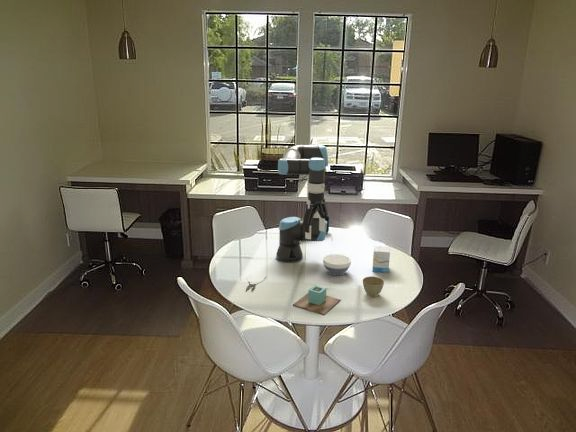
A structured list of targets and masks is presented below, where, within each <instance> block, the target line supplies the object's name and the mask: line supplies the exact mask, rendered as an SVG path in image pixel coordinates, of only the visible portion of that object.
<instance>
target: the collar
mask: <svg viewBox="0 0 576 432" xmlns="http://www.w3.org/2000/svg"><path fill="white" fill-rule="evenodd" d="M315 289H320V291H319V292H318V291H315ZM307 293H308V302H310V303H313V304H316V305H321V304H322V303H323V302H325V301H326V296H327V288H326V287H324V286H319V285H313V286H312V287H311V288H309V289H308V292H307Z"/></svg>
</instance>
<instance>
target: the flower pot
mask: <svg viewBox="0 0 576 432" xmlns="http://www.w3.org/2000/svg"><path fill="white" fill-rule="evenodd" d="M384 285H385V280H384V279H383V278H381V277H379V276H372V275H371V276H366V277H363V279H362V287H363V288H364V292H365V293H366V294H367V296H368V297H371V298H375V297H378V295H380V293H381V292H382V290H383V287H384Z"/></svg>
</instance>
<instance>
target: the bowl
mask: <svg viewBox="0 0 576 432" xmlns="http://www.w3.org/2000/svg"><path fill="white" fill-rule="evenodd" d="M322 263H323V266H324V268H325V270H326V271H327V273H328V274H330V275H333V276H343V275H344V274H346V272H347V271H348V270H349V269H350V267H351V264H352V261H351V258H350V257H349V256H347V255H344V254H339V253H338V254H336V253H334V254H333V253H332V254H328V255H325V256H324V257H323V260H322Z"/></svg>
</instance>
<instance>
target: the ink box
mask: <svg viewBox="0 0 576 432" xmlns="http://www.w3.org/2000/svg"><path fill="white" fill-rule="evenodd" d="M390 250H391V248H390V247H389V246H388V247H387V246H380V245H379V246H376V245H375V246H374V247H373V255H372V256H373V259H372V272H374V273H375V272H376V273H389V271H390V269H389V268H390V256H391V251H390Z"/></svg>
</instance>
